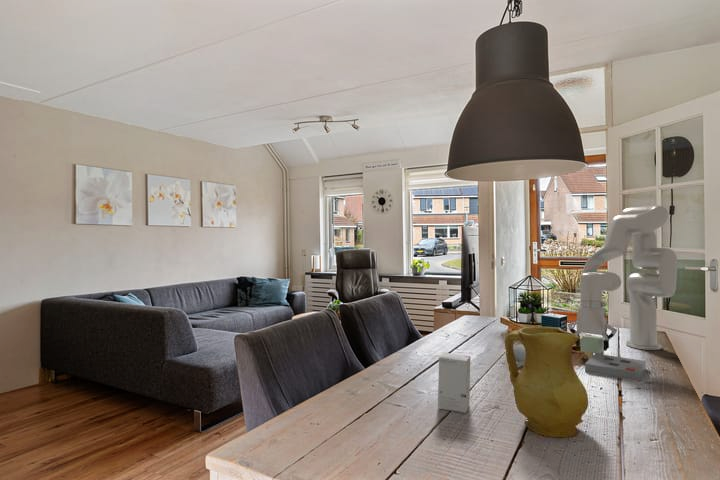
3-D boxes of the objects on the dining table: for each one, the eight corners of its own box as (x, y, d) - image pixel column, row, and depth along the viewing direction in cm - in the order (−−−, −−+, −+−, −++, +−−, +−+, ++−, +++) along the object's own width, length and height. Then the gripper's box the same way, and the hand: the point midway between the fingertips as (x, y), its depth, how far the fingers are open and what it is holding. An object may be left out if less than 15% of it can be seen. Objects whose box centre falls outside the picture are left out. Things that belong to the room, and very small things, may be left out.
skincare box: (437, 409, 119) (436, 357, 119) (442, 401, 124) (441, 351, 124) (467, 413, 116) (466, 360, 115) (471, 405, 121) (470, 354, 121)
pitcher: (546, 446, 96) (543, 336, 97) (498, 418, 114) (496, 325, 115) (606, 437, 101) (602, 332, 102) (550, 411, 119) (548, 322, 120)
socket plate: (595, 361, 160) (595, 351, 160) (645, 369, 150) (645, 359, 150) (585, 371, 148) (584, 361, 148) (638, 381, 138) (638, 370, 138)
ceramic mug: (526, 360, 163) (525, 341, 163) (542, 366, 155) (541, 346, 155) (504, 364, 159) (503, 344, 159) (519, 370, 151) (519, 349, 151)
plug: (585, 354, 170) (585, 334, 170) (604, 357, 166) (604, 337, 166) (580, 358, 164) (580, 338, 164) (599, 361, 159) (599, 340, 159)
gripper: (618, 305, 162) (618, 349, 162) (570, 301, 173) (570, 342, 173) (614, 307, 156) (615, 353, 156) (564, 303, 167) (565, 346, 167)
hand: (591, 347), depth 165 cm, fingers open, 9 cm apart
